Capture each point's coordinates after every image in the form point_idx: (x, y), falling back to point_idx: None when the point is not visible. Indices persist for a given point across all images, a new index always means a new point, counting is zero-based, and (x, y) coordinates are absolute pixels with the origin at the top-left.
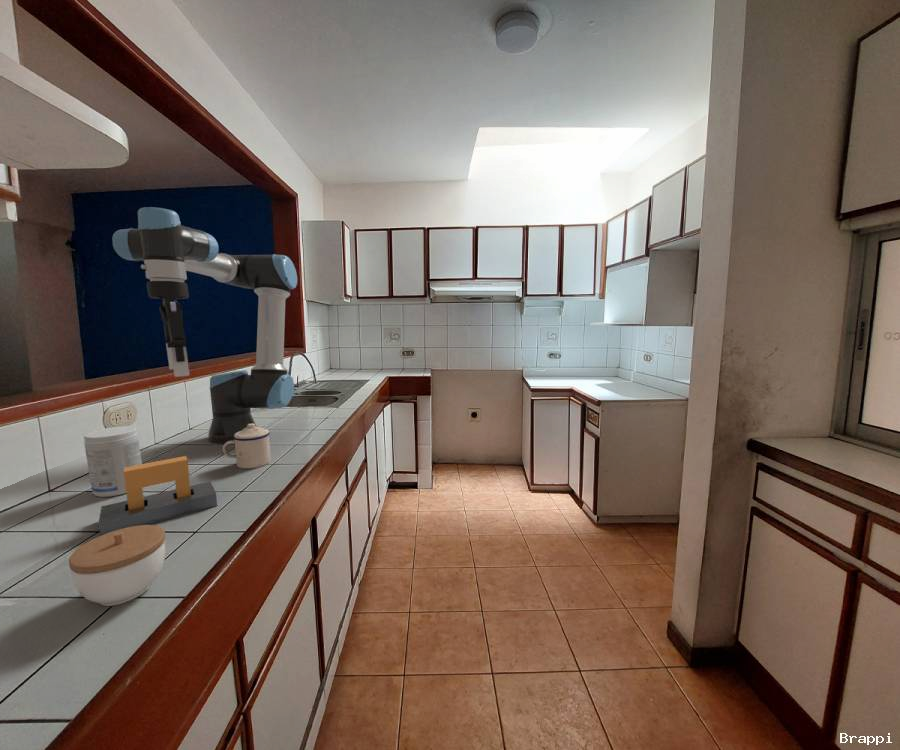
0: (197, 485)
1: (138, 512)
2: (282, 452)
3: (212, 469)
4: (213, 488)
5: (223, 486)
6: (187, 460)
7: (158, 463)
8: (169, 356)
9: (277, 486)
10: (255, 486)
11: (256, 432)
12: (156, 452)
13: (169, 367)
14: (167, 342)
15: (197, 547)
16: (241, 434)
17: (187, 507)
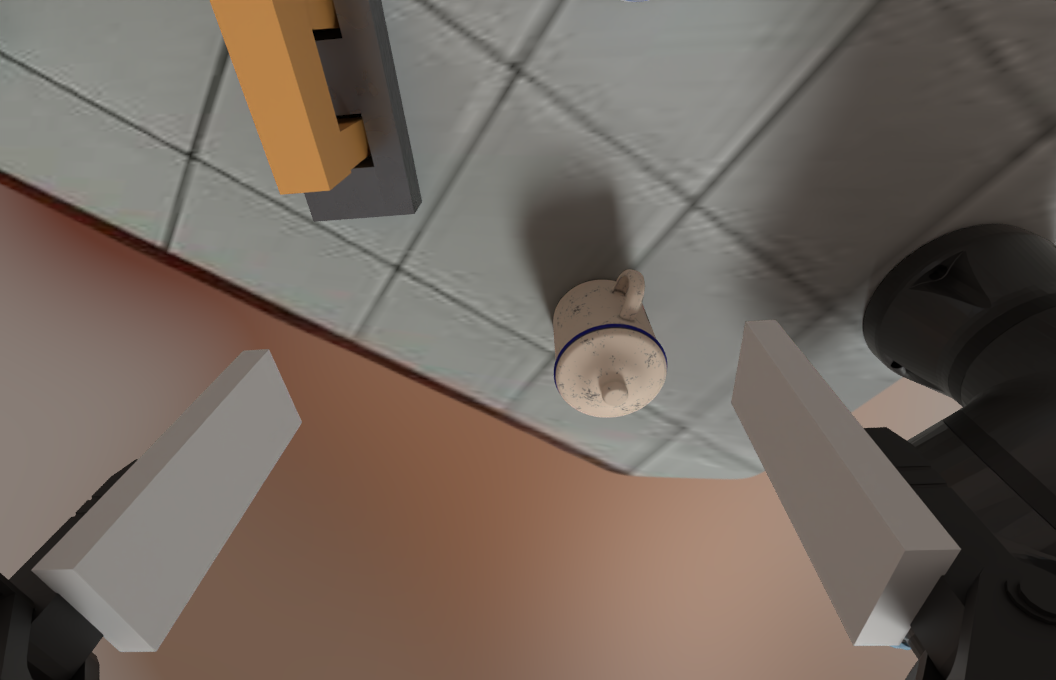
0: (397, 179)
1: None
2: None
3: (628, 215)
4: (350, 217)
5: (458, 232)
6: (282, 193)
7: (269, 100)
8: (800, 415)
9: (388, 338)
10: (414, 298)
11: (576, 390)
12: (1039, 22)
13: (753, 332)
14: (974, 576)
15: (113, 158)
16: (591, 352)
17: None
